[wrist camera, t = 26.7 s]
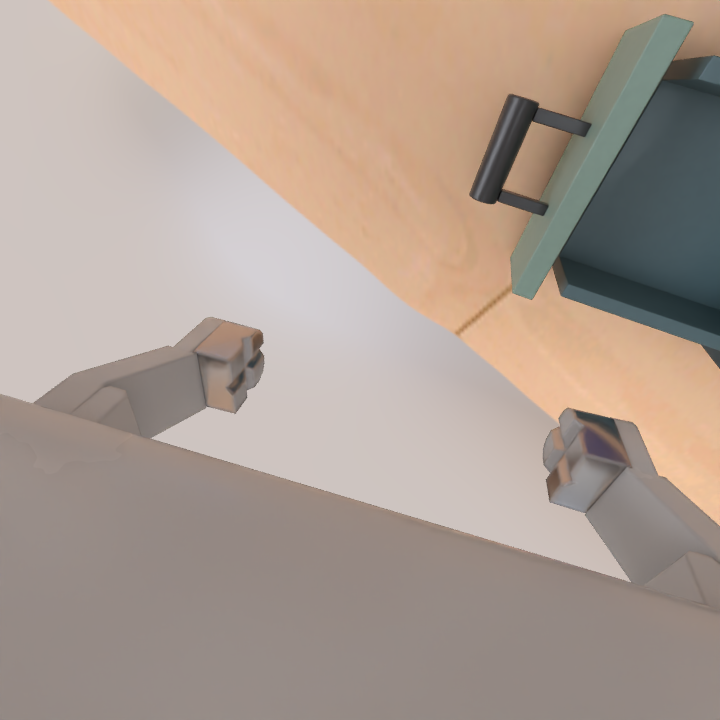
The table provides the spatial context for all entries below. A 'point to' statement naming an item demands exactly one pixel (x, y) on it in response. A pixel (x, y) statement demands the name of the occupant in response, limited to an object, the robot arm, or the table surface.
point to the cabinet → (713, 354)
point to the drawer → (627, 189)
